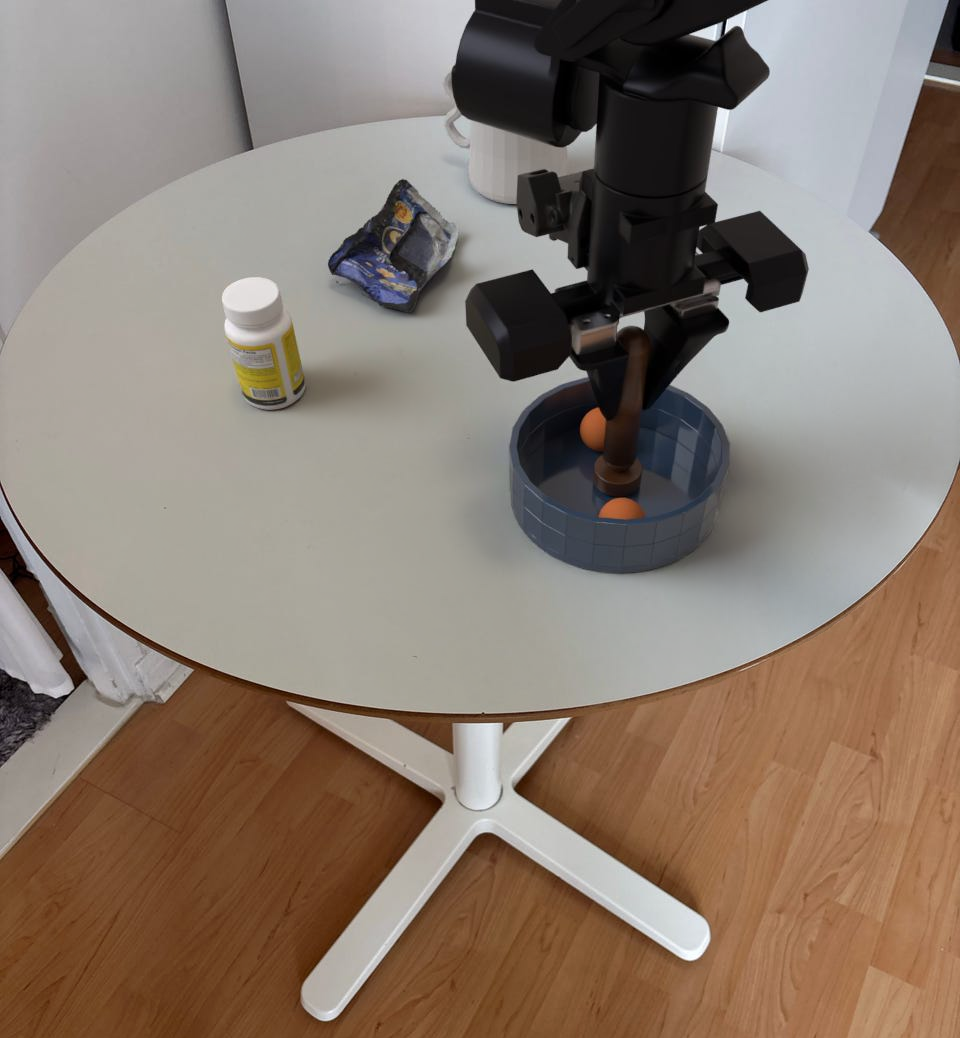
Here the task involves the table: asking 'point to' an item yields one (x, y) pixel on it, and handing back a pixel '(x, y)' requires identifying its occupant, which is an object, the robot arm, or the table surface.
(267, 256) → the table surface
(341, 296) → the table surface
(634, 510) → the ball
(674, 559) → the bowl
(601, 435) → the ball
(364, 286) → the snack package
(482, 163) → the mug
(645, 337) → the wooden pestle
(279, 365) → the supplement bottle
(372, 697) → the table surface
